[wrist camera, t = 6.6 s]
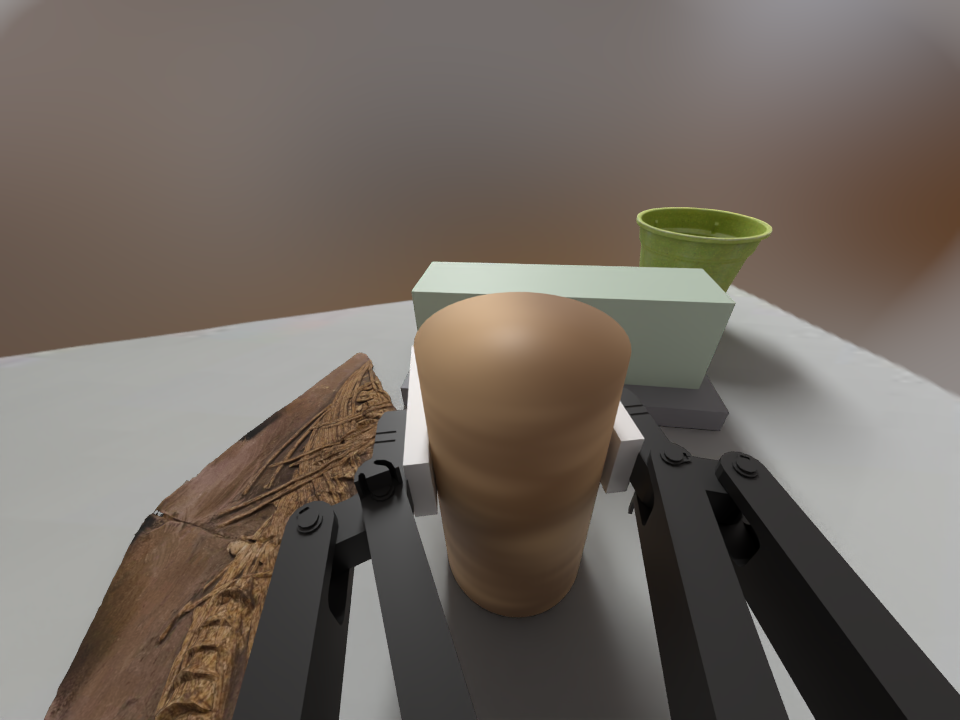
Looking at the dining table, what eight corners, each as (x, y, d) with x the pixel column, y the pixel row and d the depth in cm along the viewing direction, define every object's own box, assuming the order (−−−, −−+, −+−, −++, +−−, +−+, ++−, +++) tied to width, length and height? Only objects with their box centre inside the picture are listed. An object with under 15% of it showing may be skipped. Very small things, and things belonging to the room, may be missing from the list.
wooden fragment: (156, 1008, 8) (129, 1020, 8) (-178, 869, 10) (-222, 870, 9) (440, 363, 29) (439, 352, 28) (317, 353, 31) (313, 343, 30)
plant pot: (667, 288, 38) (693, 202, 33) (753, 328, 31) (802, 226, 26) (596, 306, 35) (612, 214, 30) (673, 355, 28) (711, 246, 23)
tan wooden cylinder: (435, 609, 14) (383, 399, 8) (458, 482, 19) (437, 291, 13) (589, 625, 14) (662, 410, 7) (572, 489, 19) (607, 292, 12)
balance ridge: (404, 404, 24) (383, 305, 20) (436, 335, 32) (426, 252, 27) (719, 430, 22) (775, 322, 17) (675, 348, 29) (707, 258, 25)
